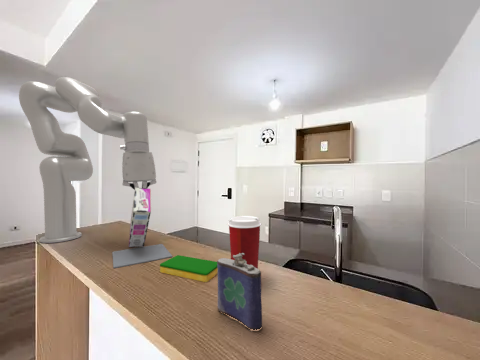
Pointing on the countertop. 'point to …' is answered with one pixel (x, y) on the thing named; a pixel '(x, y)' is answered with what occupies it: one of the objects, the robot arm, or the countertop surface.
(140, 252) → the mat
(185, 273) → the dish sponge
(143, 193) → the candy bar box
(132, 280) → the countertop surface
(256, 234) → the paper cup
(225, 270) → the flask
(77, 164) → the robot arm
